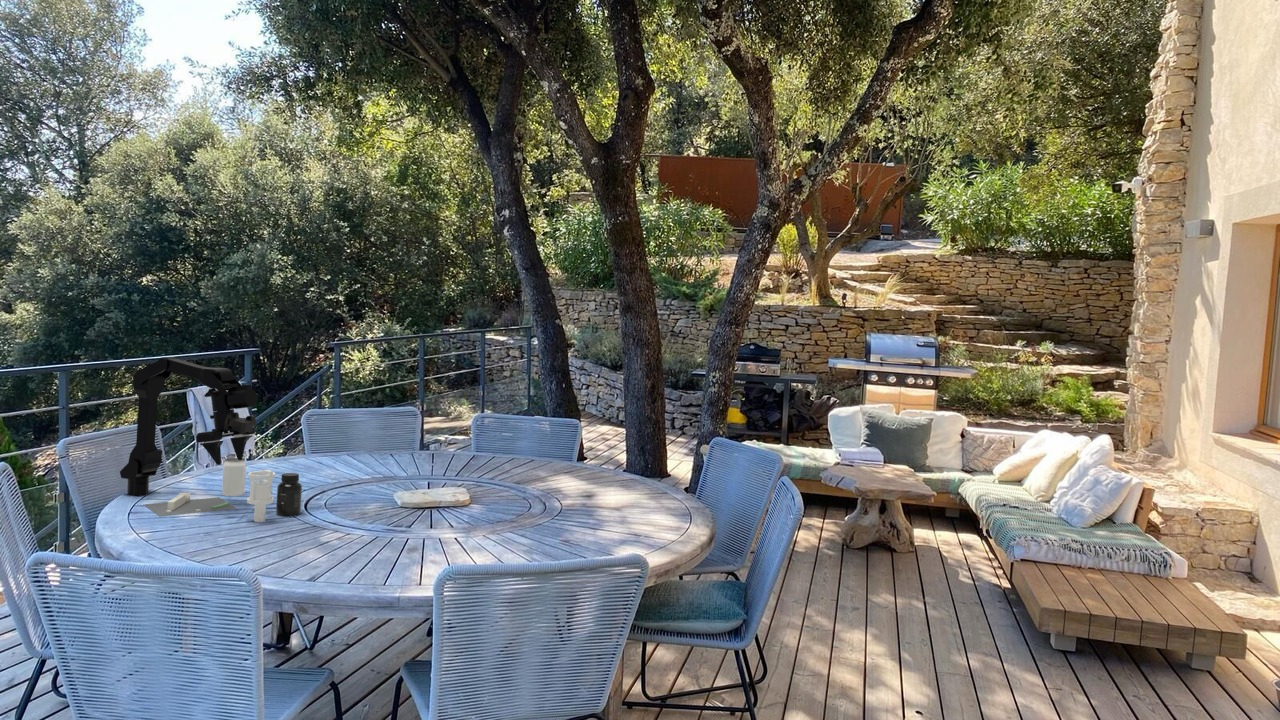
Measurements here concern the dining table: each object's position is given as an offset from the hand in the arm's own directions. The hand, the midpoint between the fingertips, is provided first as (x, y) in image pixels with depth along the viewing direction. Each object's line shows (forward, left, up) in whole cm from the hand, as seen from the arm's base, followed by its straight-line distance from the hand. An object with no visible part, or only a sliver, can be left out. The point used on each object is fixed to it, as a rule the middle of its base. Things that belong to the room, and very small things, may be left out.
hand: (229, 462), depth 254 cm
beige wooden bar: (-7, -11, -13) cm, 19 cm away
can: (-16, +7, -15) cm, 23 cm away
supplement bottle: (+12, +13, -15) cm, 23 cm away
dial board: (-5, -9, -14) cm, 18 cm away
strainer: (+16, +3, -15) cm, 22 cm away
